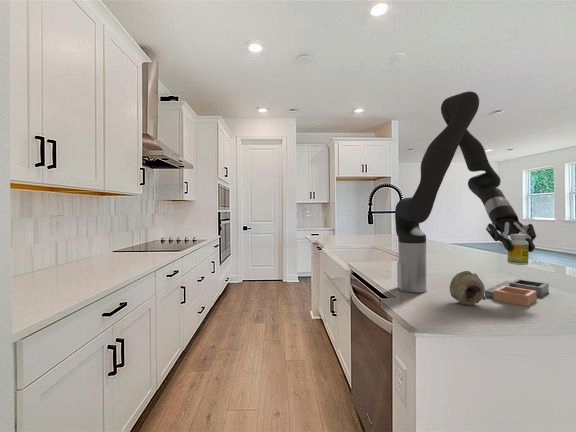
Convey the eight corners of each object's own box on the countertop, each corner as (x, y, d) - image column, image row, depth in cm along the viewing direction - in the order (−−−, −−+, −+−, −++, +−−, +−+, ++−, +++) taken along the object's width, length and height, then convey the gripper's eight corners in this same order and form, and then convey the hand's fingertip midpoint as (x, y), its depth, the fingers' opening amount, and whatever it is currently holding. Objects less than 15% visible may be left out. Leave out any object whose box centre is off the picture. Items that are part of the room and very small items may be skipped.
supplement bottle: (511, 261, 99) (511, 233, 99) (531, 264, 94) (531, 234, 94) (504, 263, 96) (504, 234, 96) (524, 266, 91) (525, 235, 91)
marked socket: (527, 306, 86) (527, 296, 86) (493, 299, 93) (493, 290, 93) (536, 300, 91) (536, 291, 91) (503, 294, 98) (503, 285, 98)
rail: (529, 305, 87) (529, 295, 87) (484, 296, 96) (484, 287, 96) (548, 292, 100) (548, 283, 100) (507, 285, 109) (507, 277, 109)
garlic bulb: (443, 301, 92) (443, 269, 92) (462, 297, 96) (462, 267, 95) (473, 310, 84) (472, 275, 83) (492, 306, 87) (492, 272, 87)
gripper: (482, 204, 103) (502, 242, 91) (527, 204, 101) (553, 243, 89) (474, 219, 108) (492, 256, 97) (517, 219, 106) (540, 257, 95)
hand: (521, 250), depth 93 cm, fingers closed on supplement bottle, 5 cm apart
